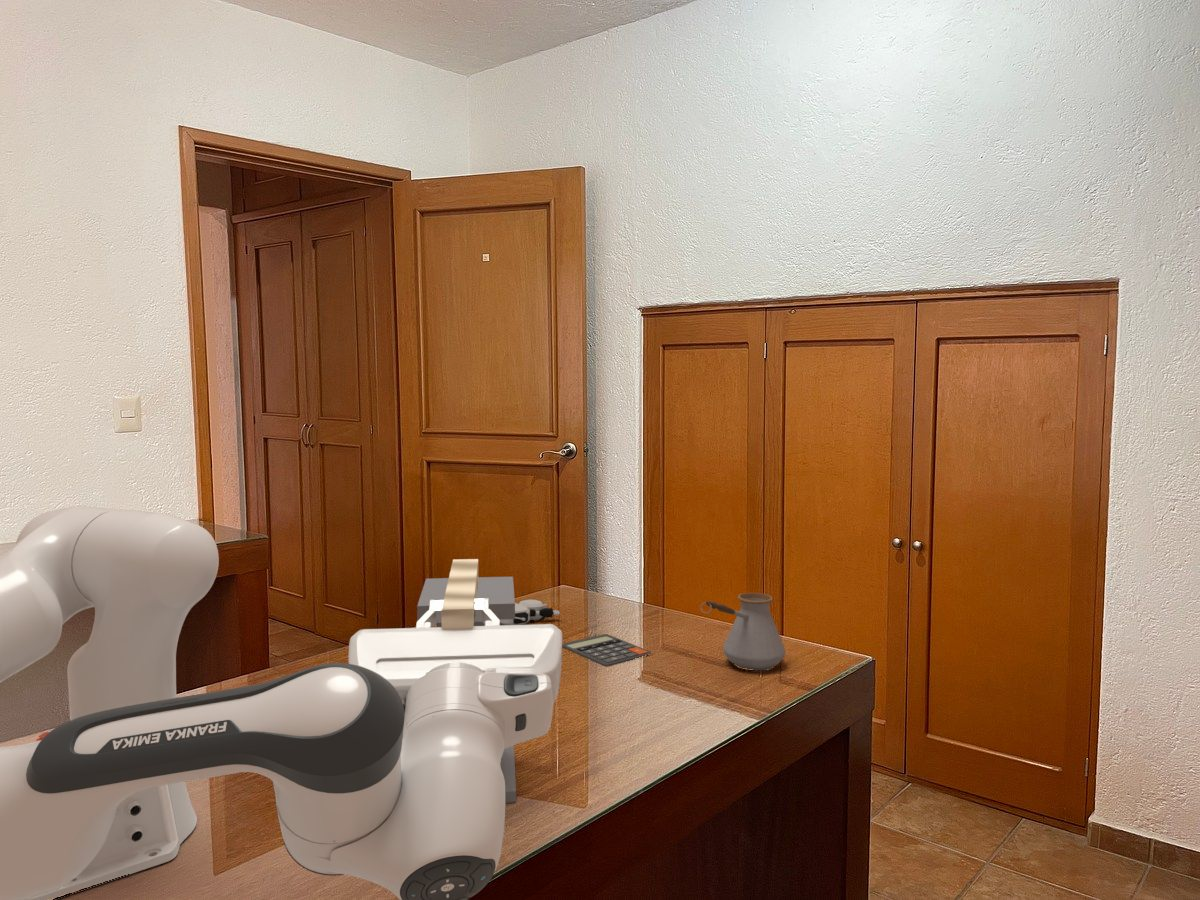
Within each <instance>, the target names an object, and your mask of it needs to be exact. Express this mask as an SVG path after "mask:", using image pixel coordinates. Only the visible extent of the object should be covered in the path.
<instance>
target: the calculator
mask: <svg viewBox="0 0 1200 900" xmlns="http://www.w3.org/2000/svg"><path fill="white" fill-rule="evenodd" d="M562 649H565V650H568V651H570V652H571V653H574V654H576V655H579V656H581V657H583V658H585V659H588V660H589V659H590V660H589V661H591V662H594V663H596V664H599V665H601V666H603V667H605V668H606V667H607V668H608V667H611V666H615V665H618V664H622V663H623V664H624V663H625V662H626V661H627V662H630V660H631V661H634V660H633V659H635V658H639V657H642V656H645V655H648V654H651V652H652V651H650V650H648V649H645V648H642V647H640V646H638V645H635V644H633V643H631V642H628V641H625V640H623V639H620V638H618V637H615V636H613V635H610V634H608V633H603V634H599V635H594V636H590V637H586V638H582V639H578V640H573V641H569V642H564V643H563V642H562ZM639 659H640V658H639ZM635 660H636V659H635ZM627 662H626V663H627Z"/></svg>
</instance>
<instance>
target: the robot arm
mask: <svg viewBox="0 0 1200 900" xmlns="http://www.w3.org/2000/svg"><path fill="white" fill-rule="evenodd" d="M219 556H220V555H219V549H218V546H217V543H216V540H215V539H214V537H213V536H212V535H211V533H210V532H209V531H208V530H207V529H206V528H204V527H203V526H201V525H199V524H196V523H194V522H191V521H189V520H186V519H184V518H181V517H178V516H176V515H173V514H169V513H164V512H163V513H162V512H153V511H152V512H150V511H142V510H140V511H139V510H133V509H132V510H131V509H117V508H109V507H107V508H106V507H95V506H88V505H87V506H86V505H85V506H84V505H79V506H72V507H66V508H64V507H63V508H60V509H54V510H50V511H46V512H43V513H40V514H38V515H36V516H35V517H33V518H32V519H31V520H30V521H29V522H27V523H26V524H25V526H23V528H22V530H20V532H19V535H18V537H17V539H16V542H15V544H14V545H12V546H11V547H9V549H8V550H6V551H5V552H3V553H2V554H0V683H2V682H4V681H5V680H8V678H11V677H13V676H14V675H15V674H17V673H19V672H21V671H23V670H24V669H25V668H27V667H29V666H31V665H32V664H34V663H36V662H38V661H39V660H41V659H43V658H44V657H46V656H47V655H49V654H50V653H51V652H52V651H54V649H55V648H56V647H57V645H58V643H59V641H60V639H61V637H62V631H63V625H64V624H65V623H67V621H68V620H70V619H71V618H72V617H73V616H74V615H76V614H78V613H80V612H81V611H84V610H87V609H91V608H94V611H95V612H94V621H93V624H92V630H91V634H90V635H89V638H88V641H87V642H86V643H84V644H83V645H81V646H80V647H79V648H77V650H75V651H74V653H73V654H72V656H71V657H70V659H69V661H68V664H67V669H66V673H67V687H68V688H67V689H68V707H69V709H68V710H69V720H68V721H65V722H64V723H62V724H60V725H58V726H56V727H54V728H52V729H51V730H50V731H45V732H42V733H40V735H39V736H38V738H36V739H35V741H33V742H28V743H23V744H18V745H17V744H16V745H9V746H0V900H47V899H52V898H56V897H58V896H61V895H63V894H66V893H70V892H72V891H76V890H79V889H82V888H86V887H88V886H92V885H96V884H99V883H102V884H104V883H103V882H105V881H108V882H110V881H109V880H111V881H113V880H112V879H114V878H117V877H120V878H122V877H121V876H123V877H125V876H124V875H126V876H129V875H132V874H135V873H137V872H138V873H139V872H141V871H144V870H147V869H150V868H153V867H156V866H159V865H161V864H165V863H167V862H170V861H171V860H173V859H175V858H176V856H178V853H179V850H180V846H181V844H182V843H183V842H184V841H185V840H186V839H187V838H188V837H189V836H190V834H191V833H193V831H194V830H195V829H196V825H197V822H198V817H197V816H198V815H197V814H196V812H195V809H194V807H193V805H192V802H191V799H190V795H189V792H188V787H187V784H186V782H190V781H191V782H192V781H196V780H202V779H210V778H216V777H220V776H226V775H232V774H238V773H255V774H259V775H261V776H263V777H266V778H268V779H269V780H271V781H272V784H273V790H274V795H275V806H276V812H277V816H278V821H279V826H280V831H281V835H282V840H283V844H284V845H283V846H285V847H284V848H285V849H286V851H287V853H288V854H289V857H291V859H292V860H293V861H294V862H296V864H297V865H298V866H301V867H302V868H303V869H305V870H307V871H309V872H312V873H314V874H318V875H321V876H331V877H332V876H335V877H336V876H349V877H354V878H359V879H362V880H365V881H369V882H371V883H374V884H376V885H378V886H381V887H383V888H385V889H387V890H388V891H390V892H391V893H392V894H393V895H394V896H396V897H397V898H398V899H399V900H469V899H470V898H472V897H474V896H476V895H477V894H478V893H479V892H481V891H482V890H483V889H484V888H486V886H487V885H488V884H489V883H490V881H491V879H492V878H493V876H494V875H495V873H496V870H497V867H498V866H499V862H500V859H501V855H502V850H503V842H504V834H505V824H506V823H505V821H506V820H505V819H506V803H505V780H504V776H503V773H502V770H501V766H500V762H501V758H502V755H503V751H504V749H505V748H508V747H510V746H513V745H514V746H515V745H516V746H517V745H518V744H522V743H524V742H528V741H531V740H533V739H534V740H535V739H536V738H540V737H543V736H545V735H546V734H548V733H549V731H550V728H551V724H552V721H553V720H552V719H553V711H554V703H555V701H556V700H557V698H558V694H559V691H560V690H559V689H560V685H561V677H562V676H561V674H562V662H563V661H562V660H563V647H562V644H563V632H562V630H561V629H560V628H559V627H558V626H556V625H555V624H552V623H545V624H544V623H543V624H542V623H541V624H539V623H538V624H537V623H535V624H520V625H502V624H500V620H499V619H498V618H497V617H496V615H495V614H494V613H493V612H492V611H491V610H490V609H489V598H477V599H474V622H483V623H484V625H485V626H473V628H445V629H442V627H437V626H436V625H437V623H442V617H441V609H442V605H443V601H444V599H435V600H430V604H429V611H427V612H426V613H425V614H424V615H423V616H422V617H421V618H420V619H419V620H418V621H417V620H416V625H415V627H404V628H402V627H399V628H398V627H397V628H363V629H359V630H358V631H356V632H355V633H354V634H353V635H352V636H351V637H350V639H349V643H348V657H347V658H348V663H346V662H330V663H329V662H328V663H323V664H318V665H314V666H311V667H307V668H304V669H300V670H298V671H296V672H292V673H290V674H287V675H284V676H281V677H278V678H275V679H272V680H268V681H265V682H261V683H255V684H251V685H246V686H240V687H239V686H238V687H235V688H228V689H223V690H216V691H210V692H204V693H203V692H202V693H198V694H191V695H187V696H179V697H177V648H178V642H179V637H180V635H181V631H182V627H183V626H184V622H185V620H186V617H187V616H188V614H189V612H190V611H191V609H192V608H193V607H194V606H195V605H197V603H199V602H200V601H201V600H203V598H204V597H205V596H206V595H207V594H208V592H210V590H211V588H212V587H213V585H214V582H215V580H216V578H217V575H218V570H219V566H220V565H219V563H220V561H219V560H220V558H219ZM434 626H435V627H434ZM128 874H129V875H128ZM117 879H118V878H117ZM114 880H115V879H114ZM105 883H106V882H105ZM99 885H100V884H99ZM96 886H97V885H96Z"/></svg>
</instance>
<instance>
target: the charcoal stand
mask: <svg viewBox="0 0 1200 900" xmlns="http://www.w3.org/2000/svg"><path fill="white" fill-rule="evenodd" d="M448 579H449V577H442V578H440V577H439V578H438V577H437V578H436V577H434V578H425V581H424V584H423V587H422V590H421V593H420V596H419V599H418V602H417V605H416V609H417V610H416V614H417V615H416V617H417V620H416V622H417V621H418V620H419V619H420V618H421V617H422V616H423V615H424V614H425V613H426V612H427V611H429V604H430V600H435V599H444V597H445V592H446V588H447V584H448ZM514 588H515V585H514V576H487V577H486V576H483V577H481V576H480V577H479V576H478V589H477V598H489V609H490V610H491V611H492V612H493V613H494V614H495V615H496V617H497V618H498V619H499V620H502V619H515V603H516V601H515V589H514ZM474 626H485V625H484V623H483V622H474ZM436 627H442V623H436ZM515 762H516V761H515V745H513V746H510V747H508V748H505V749H504V751H503V755H502V758H501V762H500V766H501V770H502V773H503V776H504V780H505V804H509V803H517V786H516V785H517V783H516V764H515Z"/></svg>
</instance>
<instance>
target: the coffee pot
mask: <svg viewBox="0 0 1200 900" xmlns="http://www.w3.org/2000/svg"><path fill="white" fill-rule="evenodd" d="M737 599H738V601H739V603H740V609H739V610H735V609H733V608H731V607H728V606H727V605H725V604H720V603H717V602H716V601H713V602H712V601H711V600H710V601H705V602H703V603H701V604H700V610H701V612H703V613H704V614H708V613H711V612H712V609H713V610H717V611H719V612H721V613H726V614H729V615H734V616H736V618H735V620H734V622H733V624H732V626H731V628H730V631H729V633H728V635H727V637H726V639H725V642H724V643H723V646H722V651H723V653H724V655H725V657H726V658H727V660H729V662H731V663H732V664H733V663H734V664H735V665H737V666H739V667H742V668H747V669H753V670H767V669H770V670H772V669H771V668H772V667H774V666H777V665H779V664H780V663H781V662H782V661H783V660H784V657H785V655H786V649H785V646H784V643H783V640H782V638H781V637H780V636H781V635H780V633H779V631H778V628H777V626H776V623H775V620H774V618H773V616H772V613H771V610H770V605H771V603H772V602H773V599H774V598H773V596H771V595H769V594H767V593H760V592H744V593H739V594H738V596H737ZM705 604H706V606H708V607H710V609H709V611H704V610H703V609H702V606H703V605H705ZM774 668H775V667H774ZM767 671H768V670H767Z"/></svg>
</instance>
